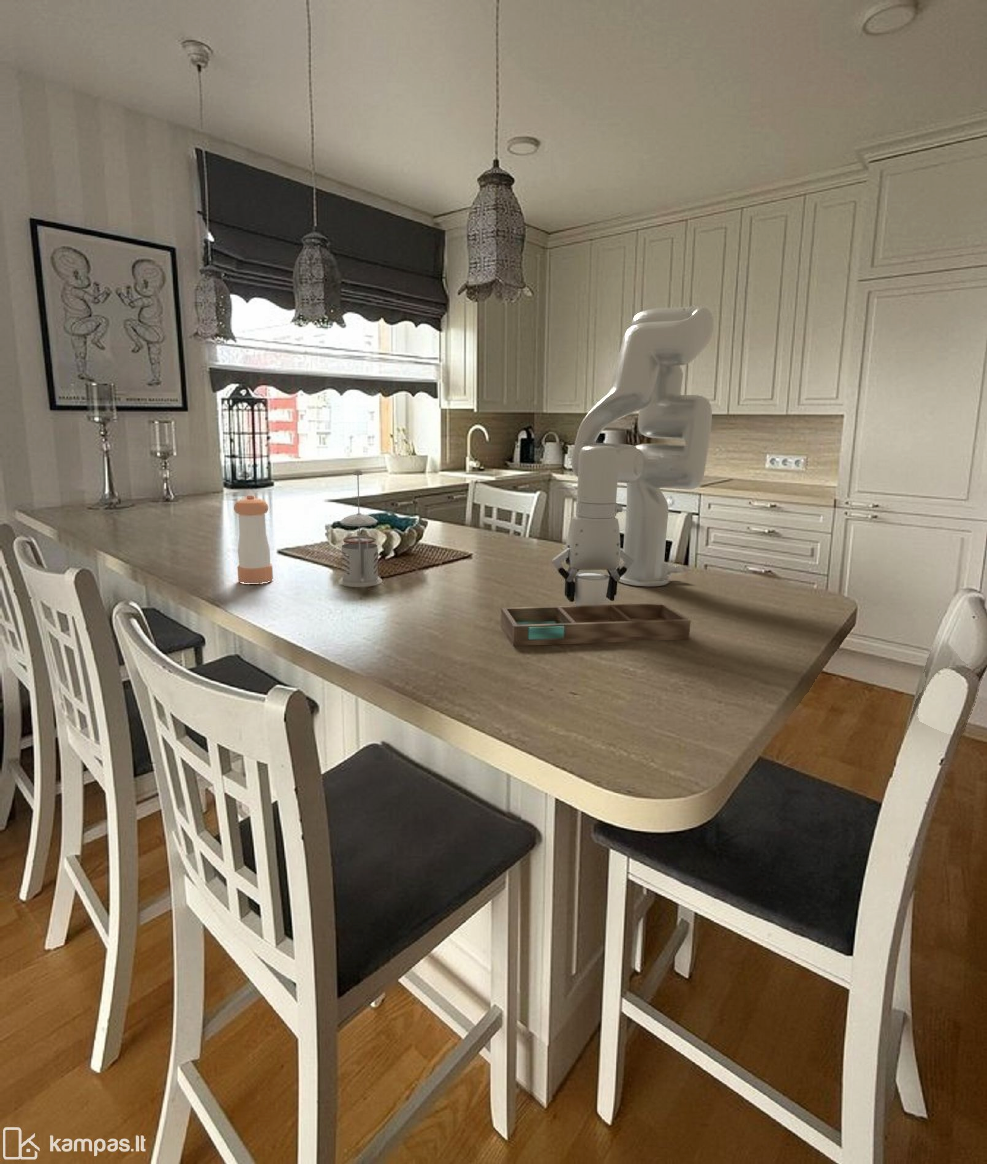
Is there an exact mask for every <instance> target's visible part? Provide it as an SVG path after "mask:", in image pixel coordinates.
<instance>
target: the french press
mask: <svg viewBox="0 0 987 1164" xmlns="http://www.w3.org/2000/svg"><path fill="white" fill-rule="evenodd" d="M353 476H357V477H356V479H357V509H358V510H357V513H355V514H350V515H347V516H346V517H343V519H341V520H340V521H339V522H340V524H341V525H342V526H347V527H358V530H356V531H357V532H356V536H355V535H353V536H346V537H344V538H343V539H342V540H343V542H344V543H345V544H343V545H341V553H342V555H341V559H342V560H341V563H342V566H341V568H342V572H341V573H342V577H341V578H340V579H339V580H338V582H339V583H338V584H339V585H341V586H345V587H351V588H359V587H360V588H363V587H373V586H377V585H379V584H382V583H383V579H382V578H381V577H379V569H378V568H379V564H378V545H377V544H376V543H374V542H376V539H377V538H375V537H373V536H368V532H367V529H366V530H364V534H363V535H361V527H367V526H368V527H370V526H373V525H376V524H377V523H378V520H377V518H374V517H373V516H370V515H368V514H364V513H360V482H359V476H363V472H362V470H360V469H354V471H353ZM346 555H347V556H346ZM345 566H347V567H345Z"/></svg>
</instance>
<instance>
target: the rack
mask: <svg viewBox="0 0 987 1164" xmlns="http://www.w3.org/2000/svg"><path fill="white" fill-rule="evenodd" d="M500 611H501V612H500V627H501V628H502V630H503V631H504V633H505V635H506V637H507V636H508V637H507V638H508V640H509V641H510V643H511V645H512V644H513V645H512V646H513V647H519V646H546V645H570V644H573V645H574V644H599V643H620V642H621V643H625V642H628V643H629V642H643V641H644V642H645V641H647V642H650V641H651V642H652V641H669V640H670V641H675V640H689V639H690V631H691V619H689V618H687V617H686V616H684V615H683V614H681V613H680V612H679V611H676V610H675V609H674V608H672V607H671V606H669V605H667V604H666V603H664V602H658V603H657V602H656V603H629V604H627V603H625V604H624V603H623V604H605V605H582V606H576V605H553V606H548V605H547V606H519V607H518V606H517V607H515V606H513V607H501V608H500Z"/></svg>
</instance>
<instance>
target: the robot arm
mask: <svg viewBox="0 0 987 1164" xmlns="http://www.w3.org/2000/svg"><path fill="white" fill-rule="evenodd" d="M713 332H714V317H713V315H712V313H711V311H710V310H709V309H708V308H707V307H706V306H700V305H699V306H697V305H695V306H680V307H679V306H678V307H663V308H662V307H660V308H658V307H657V308H651V309H645V310H642V311H640V312H637V313H636V314H635V315H634V316H633V318H632V321H631V326H630V327H629V328H627V329H626V331H625V333H624V335H623V338H622V342H621V346H620V349H619V354H618V357H617V361H616V364H615V365H616V366H615V369H614V375H613V378H612V382H611V386H610V390H609V391H608V392H607V394H606V395H605V396H603V397H602V398H601V399H600V400H599V401H598V402H597V403H596V404H595V405H594V406H593V407H592V408H591V409H590V410H589V411H588V413H587V414H586V415H585V417H584V418H583V419H582V421H581V423H580V425H579V427H578V430H577V433H576V434H577V435H576V438H575V441H574V445H573V449H572V456H571V469H572V472H573V474H574V475H575V477H577V489H576V504H575V505H576V506H575V516H571V518H570V522H569V525H568V531H567V536H566V542H565V549H564V550H562V551H561V552H560V553H558V555H555V556H554V557H553V558H552V559H551V564H552V565H553V567H554V568H555V570H556V571H557V572H558V574H560V576H561V577H562V578H563V579H564V580H565V581H564V596H565V598H566V599H567V600H568V601H569V602H570V603H574V602H575V576H576V574H577V573H579V572H580V571H603V570H604V571H605V570H606V572H607V574H608V576H609V582H608V588H607V594H606V599H608V600H609V601H610V602H614V601H615V597H616V596H617V593H618V592H617V591H618V583H621V584H624V585H630V586H636V587H637V586H638V587H662V586H666V585H667V584H669V583H670V577H669V575H671V574H683V572H684V566H683V565H682V564H679V565H678V564H676V565H675V564H673V563H668V562H666V561H665V553H666V542H667V532H668V520H669V504H668V501H667V498H666V497H665V495H664V494H663V492H662V490H661V489H664V488H665V489H676V490H694V489H697V488H698V487H699V486H700V485H701V484H702V481H703V479H704V476H705V471H706V467H707V466H706V465H707V457H708V451H709V444H710V437H711V430H712V423H713V421H712V420H713V410H712V405H711V403H710V401H709V400H708V398H707V397H705V396H702V395H698V394H681V392H682V385H683V377H684V376H683V374H684V373H683V370H682V368H681V366H685V365H689V364H690V363H692V362H693V361H694V360H695V359H696V358H697V357H698V356H699V355H700V353H701V352H702V351H704V349H705V348H706V347H707V346H708V345H709V343H710V341H711V338H712V335H713ZM637 412H638V418H637V419H638V420H637V421H638V422H637V428H638V431H639V433H640V434H641V435H643V436H644V437H647V438H652V439H669V440H683V441H684V443H685V444H683V445H681V444H678V445H677V444H667V443H665V444H664V443H641V444H637V445H634V444H632V445H631V444H625V443H610V442H609V443H608V442H597V439H598V438H599V436H600V434H601V433H602V431H604V430H605V429H606V428H607V427H608V426H609V425H611V424H613V423H614V422H616V421H618V420H620V419H622V418H624V417H627V416H630V415H631V414H633V413H637ZM618 484H626V508H625V518H624V519H625V521H624V522H625V523H624V534H623V546H622V547H623V550H622V549H621V533H620V523H619V519H618V518H617V514H619V513H622V512H623V510H624V508H623V505H622V504H621V505H620V504H618V502H617V497H618V496H617V495H618ZM621 560H622V562H621ZM563 561H564V562H565V564H566V565H568V567H567V569H566V568H564V566H563V565H562V562H563ZM620 562H621V564H620Z"/></svg>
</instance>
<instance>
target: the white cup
mask: <svg viewBox="0 0 987 1164" xmlns="http://www.w3.org/2000/svg"><path fill="white" fill-rule="evenodd" d="M574 582H575V600H574V603H575V606H582V605H606V599H607V597H606V594H607V588H608V582H609V575H607V574H605V573H601V572H591V571H586V572H585V571H584V572H578V573H577V574H576V576H575V578H574Z"/></svg>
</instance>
